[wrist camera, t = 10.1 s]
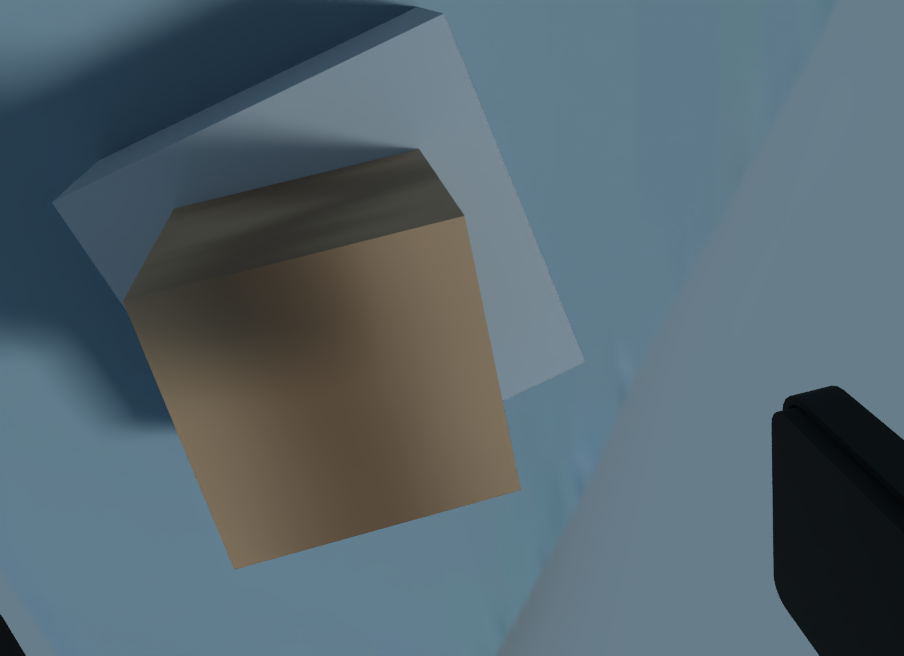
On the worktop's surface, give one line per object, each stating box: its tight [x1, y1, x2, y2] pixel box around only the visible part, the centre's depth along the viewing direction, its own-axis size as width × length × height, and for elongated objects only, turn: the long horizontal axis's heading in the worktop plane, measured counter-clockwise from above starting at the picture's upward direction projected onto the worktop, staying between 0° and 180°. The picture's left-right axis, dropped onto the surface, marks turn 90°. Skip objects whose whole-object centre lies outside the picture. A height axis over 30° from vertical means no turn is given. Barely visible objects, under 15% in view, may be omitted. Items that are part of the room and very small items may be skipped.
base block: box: [52, 7, 585, 401], centre depth 23 cm, size 10×10×5 cm
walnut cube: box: [123, 149, 521, 569], centre depth 18 cm, size 6×6×6 cm
